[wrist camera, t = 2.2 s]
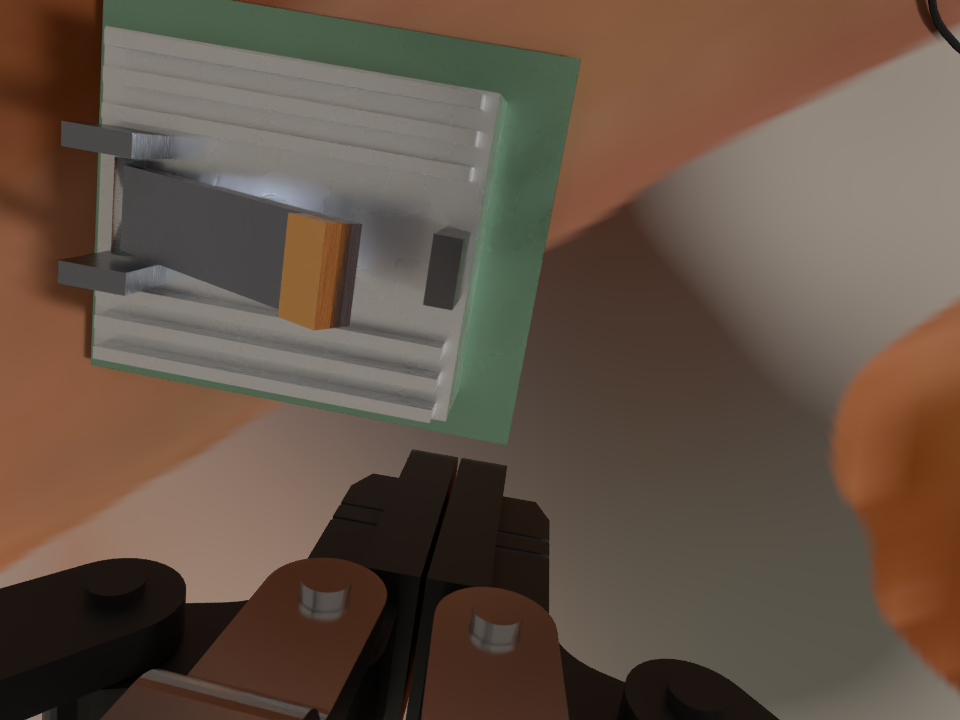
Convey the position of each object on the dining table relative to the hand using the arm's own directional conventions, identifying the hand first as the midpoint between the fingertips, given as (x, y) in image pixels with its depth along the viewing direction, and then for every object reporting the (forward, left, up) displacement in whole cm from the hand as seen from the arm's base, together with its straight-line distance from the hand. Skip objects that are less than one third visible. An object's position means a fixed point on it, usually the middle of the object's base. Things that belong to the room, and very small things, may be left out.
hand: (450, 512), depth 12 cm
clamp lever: (-1, -9, -14) cm, 16 cm away
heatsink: (-1, -9, -21) cm, 23 cm away
